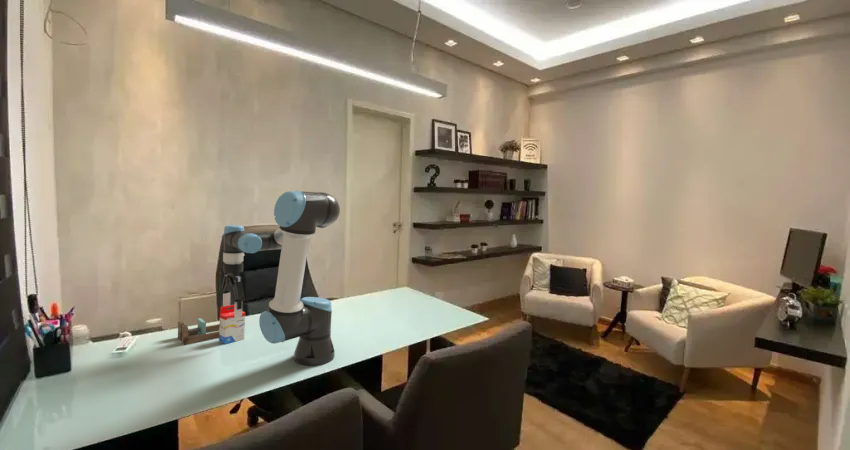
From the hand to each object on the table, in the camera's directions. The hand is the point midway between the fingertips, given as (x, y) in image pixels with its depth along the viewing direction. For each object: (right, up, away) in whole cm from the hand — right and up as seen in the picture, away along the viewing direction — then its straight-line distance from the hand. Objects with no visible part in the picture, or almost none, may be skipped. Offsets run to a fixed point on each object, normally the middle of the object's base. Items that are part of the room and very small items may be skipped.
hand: (232, 312), depth 160 cm
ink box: (0, -12, +1) cm, 12 cm away
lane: (-12, -11, +4) cm, 17 cm away
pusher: (-16, -11, 0) cm, 19 cm away
